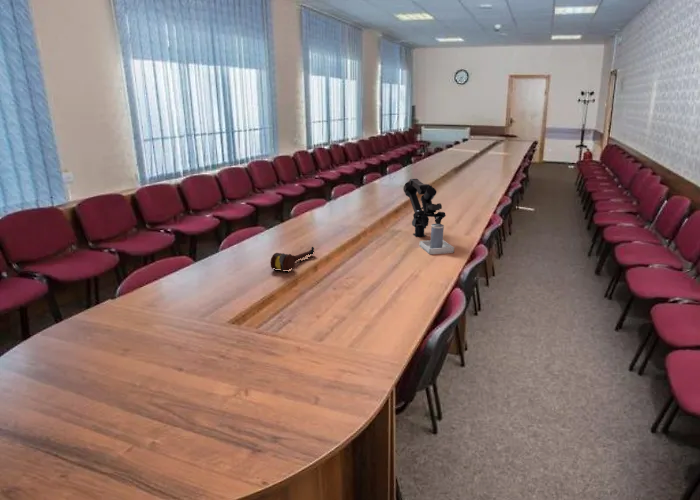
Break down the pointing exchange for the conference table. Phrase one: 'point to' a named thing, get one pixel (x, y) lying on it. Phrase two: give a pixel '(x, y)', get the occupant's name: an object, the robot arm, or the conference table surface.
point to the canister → (436, 236)
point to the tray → (445, 248)
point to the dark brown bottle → (286, 260)
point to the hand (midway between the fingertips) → (432, 228)
